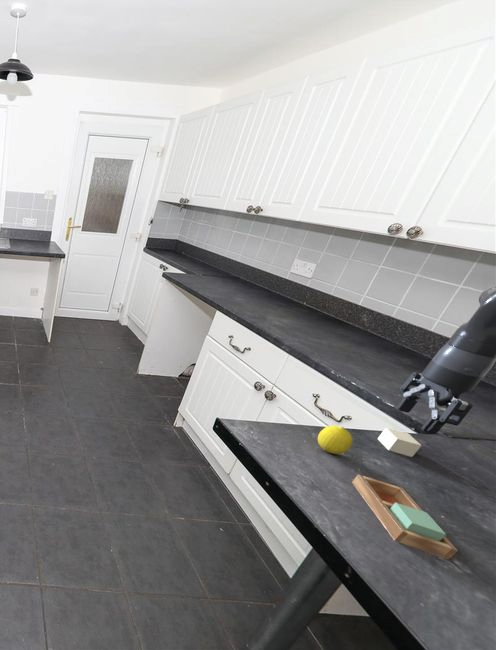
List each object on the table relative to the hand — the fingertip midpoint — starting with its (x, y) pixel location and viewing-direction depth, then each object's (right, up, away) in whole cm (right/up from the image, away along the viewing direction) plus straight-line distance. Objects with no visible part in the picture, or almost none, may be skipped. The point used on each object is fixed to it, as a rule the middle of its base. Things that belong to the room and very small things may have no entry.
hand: (414, 420), depth 83 cm
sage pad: (-27, -15, -20) cm, 36 cm away
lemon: (-23, -8, 0) cm, 24 cm away
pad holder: (-26, -14, -16) cm, 34 cm away
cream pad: (-1, -8, +4) cm, 9 cm away
